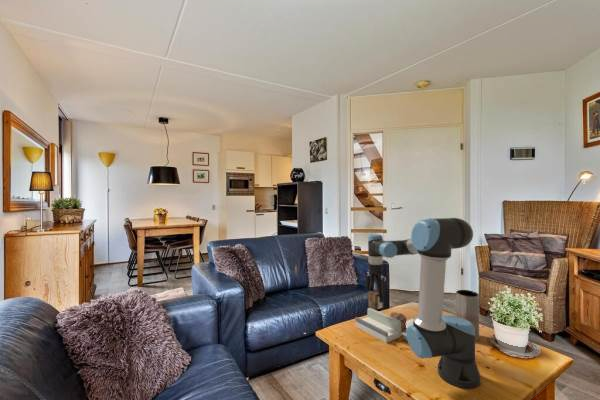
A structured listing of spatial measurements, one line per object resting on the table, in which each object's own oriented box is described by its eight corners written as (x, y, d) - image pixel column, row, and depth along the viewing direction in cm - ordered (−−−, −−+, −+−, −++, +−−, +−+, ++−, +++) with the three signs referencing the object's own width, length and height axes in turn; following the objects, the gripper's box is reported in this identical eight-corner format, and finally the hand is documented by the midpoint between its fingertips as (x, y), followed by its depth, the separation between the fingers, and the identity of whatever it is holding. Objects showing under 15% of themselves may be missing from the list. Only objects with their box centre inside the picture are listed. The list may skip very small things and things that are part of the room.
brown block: (383, 306, 154) (383, 292, 153) (374, 309, 150) (374, 294, 150) (376, 304, 158) (376, 289, 158) (367, 306, 154) (367, 292, 154)
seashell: (382, 323, 163) (389, 307, 164) (393, 329, 165) (401, 313, 167) (394, 331, 153) (401, 313, 154) (406, 337, 155) (413, 320, 157)
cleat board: (401, 336, 148) (401, 321, 148) (386, 342, 142) (386, 327, 142) (370, 321, 167) (369, 307, 167) (355, 326, 161) (355, 312, 161)
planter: (482, 342, 142) (482, 296, 141) (461, 340, 143) (460, 295, 143) (473, 332, 151) (473, 290, 151) (453, 331, 153) (453, 289, 153)
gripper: (393, 265, 148) (394, 310, 149) (368, 259, 163) (368, 299, 164) (383, 267, 144) (384, 313, 145) (358, 261, 159) (359, 302, 160)
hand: (376, 306), depth 154 cm, fingers closed on brown block, 5 cm apart
